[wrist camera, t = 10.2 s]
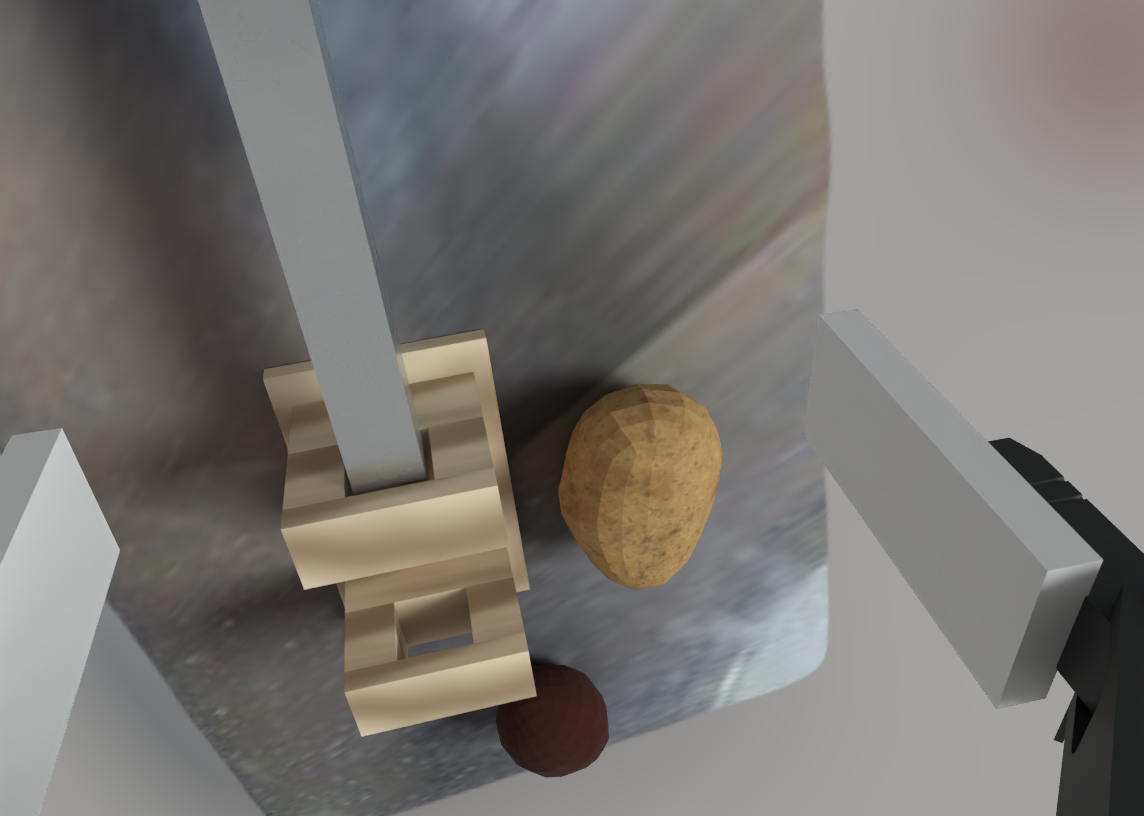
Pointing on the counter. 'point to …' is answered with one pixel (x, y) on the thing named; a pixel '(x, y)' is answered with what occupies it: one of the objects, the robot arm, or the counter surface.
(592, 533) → the potato
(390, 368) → the shaft
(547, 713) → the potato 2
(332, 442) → the bearing stand
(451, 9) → the counter surface
